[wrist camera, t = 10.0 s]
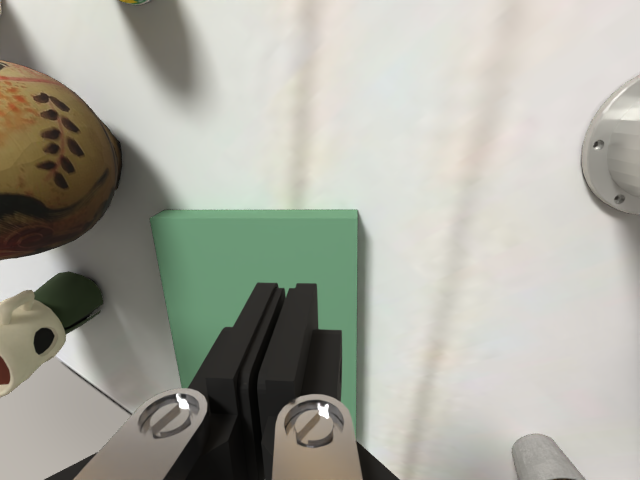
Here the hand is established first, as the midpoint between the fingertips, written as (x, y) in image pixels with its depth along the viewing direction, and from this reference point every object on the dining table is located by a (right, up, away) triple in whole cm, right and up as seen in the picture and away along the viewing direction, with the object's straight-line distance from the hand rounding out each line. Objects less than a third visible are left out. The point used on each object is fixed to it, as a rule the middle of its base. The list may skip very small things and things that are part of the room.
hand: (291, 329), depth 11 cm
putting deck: (-5, -8, +33) cm, 34 cm away
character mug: (-27, -4, +33) cm, 43 cm away
